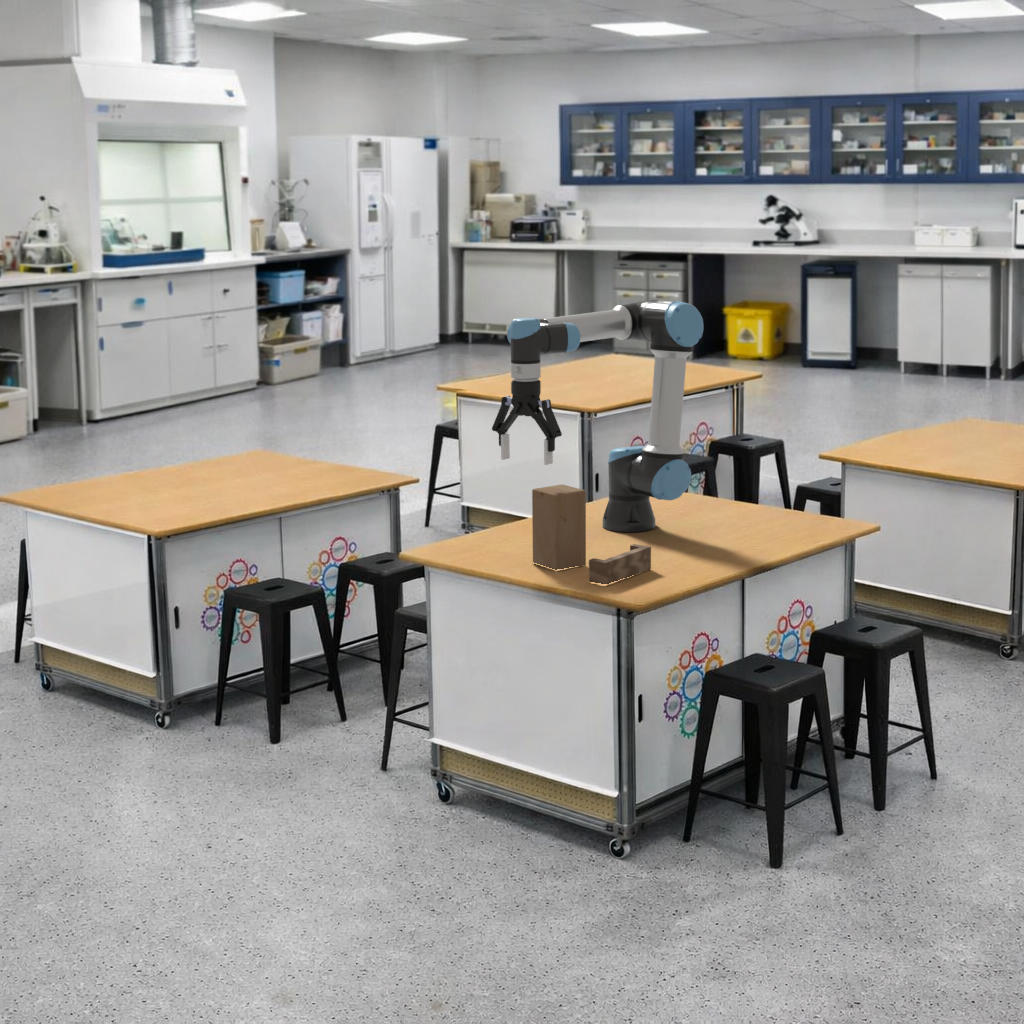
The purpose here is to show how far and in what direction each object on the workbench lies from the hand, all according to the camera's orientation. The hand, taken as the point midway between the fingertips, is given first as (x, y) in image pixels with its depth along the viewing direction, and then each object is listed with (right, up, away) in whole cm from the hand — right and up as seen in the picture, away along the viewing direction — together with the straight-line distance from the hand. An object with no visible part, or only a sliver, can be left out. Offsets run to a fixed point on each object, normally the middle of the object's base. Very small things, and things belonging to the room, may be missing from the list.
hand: (526, 461), depth 372 cm
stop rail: (+23, -29, -12) cm, 39 cm away
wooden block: (+8, -27, 0) cm, 28 cm away
